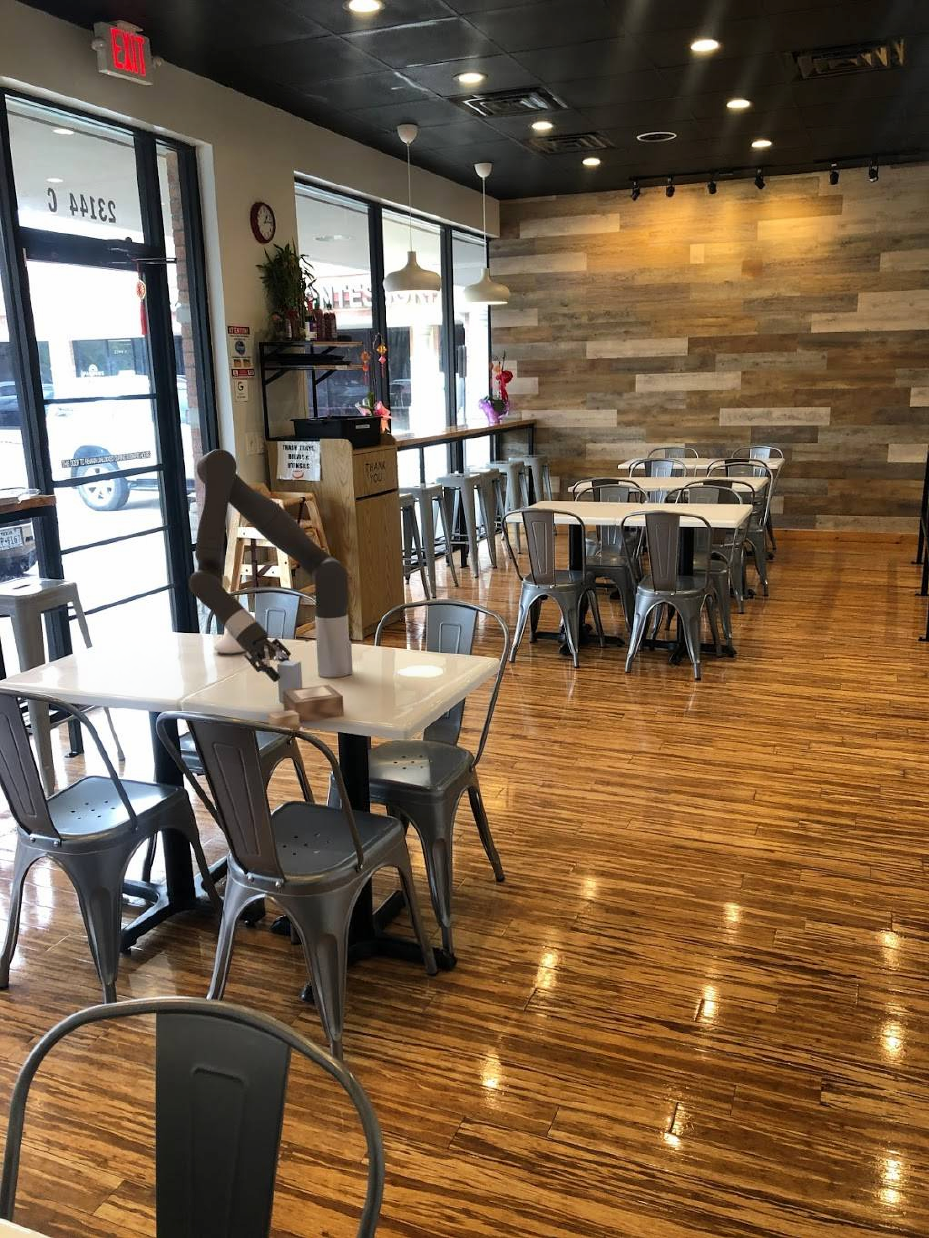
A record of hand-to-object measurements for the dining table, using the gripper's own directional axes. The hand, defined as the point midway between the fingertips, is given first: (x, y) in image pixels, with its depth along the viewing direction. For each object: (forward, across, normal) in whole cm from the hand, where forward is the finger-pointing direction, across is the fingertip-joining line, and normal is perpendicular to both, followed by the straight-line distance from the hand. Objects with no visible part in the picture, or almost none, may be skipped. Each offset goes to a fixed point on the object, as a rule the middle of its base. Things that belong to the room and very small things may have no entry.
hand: (286, 675), depth 274 cm
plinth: (+13, -8, -4) cm, 16 cm away
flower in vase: (-27, +42, +37) cm, 62 cm away
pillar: (+5, 0, +4) cm, 7 cm away
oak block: (+14, -22, -4) cm, 27 cm away
